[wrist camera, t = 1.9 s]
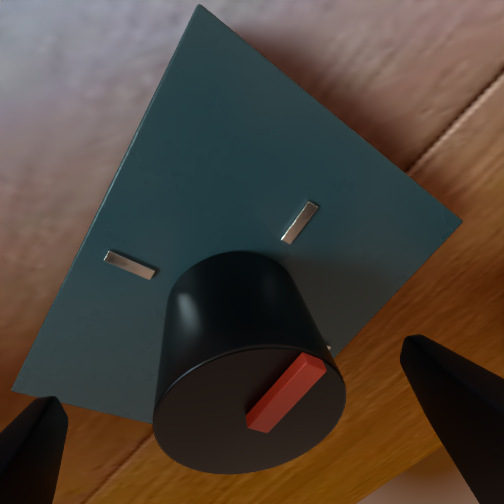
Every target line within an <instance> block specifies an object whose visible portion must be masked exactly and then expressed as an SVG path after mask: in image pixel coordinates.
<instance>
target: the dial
mask: <svg viewBox="0 0 504 504" xmlns="http://www.w3.org/2000/svg"><path fill="white" fill-rule="evenodd" d="M345 403H346V387H345V382H344V380H343V377H342V375H341V373H340V371H339V369H338V367H337V365H336V363H335V361H334V359H333V357H332V355H331V353H330V351H329V349H328V347H327V345H326V343H325V341H324V339H323V337H322V335H321V333H320V331H319V330H318V328H317V326H316V324H315V322H314V320H313V318H312V316H311V314H310V312H309V310H308V308H307V306H306V304H305V302H304V300H303V298H302V296H301V294H300V292H299V290H298V288H297V286H296V284H295V282H294V280H293V279H292V277H291V275H290V274H289V273H288V272H287V271H286V269H285V268H283V267H282V266H281V265H280V264H279V263H277V262H275V261H274V260H272V259H270V258H268V257H265V256H263V255H259V254H256V253H250V252H227V253H221V254H217V255H214V256H211V257H208V258H206V259H204V260H201V261H200V262H198V263H196V264H195V265H193V266H192V267H190V268H189V269H188V270H187V271H185V272H184V273H183V274H182V275H181V276H180V277H179V279H178V280H177V281H176V283H175V284H174V286H173V288H172V290H171V292H170V294H169V297H168V301H167V307H166V315H165V323H164V331H163V339H162V347H161V355H160V363H159V371H158V379H157V387H156V395H155V403H154V411H153V419H152V421H153V431H154V435H155V438H156V440H157V442H158V444H159V446H160V447H161V449H162V450H163V451H164V452H165V453H166V454H167V455H168V456H169V457H170V458H171V459H173V460H174V461H176V462H177V463H179V464H181V465H183V466H186V467H188V468H191V469H194V470H197V471H202V472H207V473H214V474H242V473H250V472H256V471H261V470H265V469H269V468H272V467H275V466H278V465H281V464H284V463H286V462H288V461H291V460H293V459H295V458H297V457H299V456H301V455H302V454H304V453H306V452H307V451H309V450H311V449H312V448H313V447H315V446H316V445H317V444H319V443H320V442H321V441H322V440H323V439H324V438H325V437H326V436H327V435H328V434H329V433H330V432H331V431H332V430H333V428H334V427H335V426H336V425H337V423H338V421H339V419H340V418H341V416H342V413H343V411H344V408H345Z"/></svg>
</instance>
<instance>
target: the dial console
mask: <svg viewBox="0 0 504 504" xmlns="http://www.w3.org/2000/svg"><path fill="white" fill-rule="evenodd" d="M462 222H463V221H462V220H461V219H460V218H459V217H458V216H457V215H455V214H454V213H453V212H452V211H451V210H449V209H448V208H447V207H446V206H445V205H443V204H442V203H441V202H440V201H438V200H437V199H436V198H435V197H434V196H432V195H431V194H430V193H429V192H428V191H426V190H425V189H424V188H423V187H421V186H420V185H419V184H418V183H417V182H415V181H414V180H413V179H412V178H411V177H409V176H408V175H407V174H406V173H405V172H403V171H402V170H401V169H400V168H398V167H397V166H396V165H395V164H394V163H392V162H391V161H390V160H389V159H388V158H386V157H385V156H384V155H383V154H382V153H380V152H379V151H378V150H377V149H375V148H374V147H373V146H372V145H371V144H369V143H368V142H367V141H366V140H365V139H363V138H362V137H361V136H360V135H359V134H357V133H356V132H355V131H354V130H352V129H351V128H350V127H349V126H348V125H346V124H345V123H344V122H343V121H342V120H340V119H339V118H338V117H337V116H335V115H334V114H333V113H332V112H331V111H329V110H328V109H327V108H326V107H325V106H323V105H322V104H321V103H320V102H319V101H317V100H316V99H315V98H314V97H312V96H311V95H310V94H309V93H308V92H306V91H305V90H304V89H303V88H302V87H300V86H299V85H298V84H297V83H296V82H294V81H293V80H292V79H291V78H289V77H288V76H287V75H286V74H285V73H283V72H282V71H281V70H280V69H279V68H277V67H276V66H275V65H274V64H273V63H271V62H270V61H269V60H268V59H266V58H265V57H264V56H263V55H262V54H260V53H259V52H258V51H257V50H256V49H254V48H253V47H252V46H251V45H250V44H248V43H247V42H246V41H245V40H243V39H242V38H241V37H240V36H239V35H237V34H236V33H235V32H234V31H233V30H231V29H230V28H229V27H228V26H226V25H225V24H224V23H223V22H222V21H220V20H219V19H218V18H217V17H216V16H214V15H213V14H212V13H211V12H210V11H208V10H207V9H206V8H205V7H203V6H202V5H200V4H198V5H197V7H196V9H195V11H194V13H193V15H192V17H191V19H190V21H189V23H188V25H187V27H186V29H185V32H184V34H183V36H182V38H181V40H180V42H179V44H178V46H177V48H176V50H175V52H174V54H173V56H172V58H171V60H170V62H169V65H168V67H167V69H166V71H165V73H164V75H163V77H162V79H161V81H160V83H159V85H158V87H157V89H156V91H155V93H154V95H153V98H152V100H151V102H150V104H149V106H148V108H147V110H146V112H145V114H144V116H143V118H142V120H141V122H140V124H139V126H138V129H137V131H136V133H135V135H134V137H133V139H132V141H131V143H130V145H129V147H128V149H127V151H126V153H125V155H124V157H123V159H122V162H121V164H120V166H119V168H118V170H117V172H116V174H115V176H114V178H113V180H112V182H111V184H110V186H109V188H108V190H107V193H106V195H105V197H104V199H103V201H102V203H101V205H100V207H99V209H98V211H97V213H96V215H95V217H94V219H93V221H92V223H91V226H90V228H89V230H88V232H87V234H86V236H85V238H84V240H83V242H82V244H81V246H80V248H79V250H78V252H77V254H76V256H75V259H74V261H73V263H72V265H71V267H70V269H69V271H68V273H67V275H66V277H65V279H64V281H63V283H62V285H61V287H60V290H59V292H58V294H57V296H56V298H55V300H54V302H53V304H52V306H51V308H50V310H49V312H48V314H47V316H46V318H45V320H44V323H43V325H42V327H41V329H40V331H39V333H38V335H37V337H36V339H35V341H34V343H33V345H32V347H31V349H30V351H29V353H28V356H27V358H26V360H25V362H24V364H23V366H22V368H21V370H20V372H19V374H18V376H17V378H16V380H15V382H14V384H13V387H12V389H11V391H13V392H17V393H22V394H26V395H30V396H35V397H39V398H41V397H47V396H56V397H57V398H58V399H59V401H60V403H64V404H69V405H73V406H77V407H82V408H86V409H90V410H94V411H99V412H103V413H107V414H112V415H116V416H120V417H124V418H129V419H133V420H137V421H141V422H146V423H150V424H153V421H152V419H153V411H154V403H155V395H156V387H157V379H158V371H159V363H160V355H161V347H162V339H163V331H164V323H165V315H166V307H167V301H168V297H169V294H170V292H171V290H172V288H173V286H174V284H175V283H176V281H177V280H178V279H179V277H180V276H181V275H182V274H183V273H184V272H185V271H187V270H188V269H189V268H190V267H192V266H193V265H195V264H196V263H198V262H200V261H201V260H204V259H206V258H208V257H211V256H214V255H217V254H221V253H227V252H250V253H256V254H259V255H263V256H265V257H268V258H270V259H272V260H274V261H275V262H277V263H279V264H280V265H281V266H282V267H283V268H285V269H286V271H287V272H288V273H289V274H290V275H291V277H292V279H293V280H294V282H295V284H296V286H297V288H298V290H299V292H300V294H301V296H302V298H303V300H304V302H305V304H306V306H307V308H308V310H309V312H310V314H311V316H312V318H313V320H314V322H315V324H316V326H317V328H318V330H319V331H320V333H321V335H322V337H323V339H324V341H325V343H326V345H327V347H328V349H329V351H330V353H331V355H332V357H333V359H334V358H335V357H336V356H337V355H338V354H339V353H340V351H341V350H342V349H343V348H344V347H345V346H346V345H347V344H348V343H349V342H350V341H351V340H352V339H353V338H354V337H355V336H356V335H357V333H358V332H359V331H360V330H361V329H362V328H363V327H364V326H365V325H366V324H367V323H368V322H369V321H370V320H371V319H372V318H373V317H374V315H375V314H376V313H377V312H378V311H379V310H380V309H381V308H382V307H383V306H384V305H385V304H386V303H387V302H388V301H389V300H390V299H391V298H392V296H393V295H394V294H395V293H396V292H397V291H398V290H399V289H400V288H401V287H402V286H403V285H404V284H405V283H406V282H407V281H408V280H409V278H410V277H411V276H412V275H413V274H414V273H415V272H416V271H417V270H418V269H419V268H420V267H421V266H422V265H423V264H424V263H425V262H426V261H427V259H428V258H429V257H430V256H431V255H432V254H433V253H434V252H435V251H436V250H437V249H438V248H439V247H440V246H441V245H442V244H443V243H444V241H445V240H446V239H447V238H448V237H449V236H450V235H451V234H452V233H453V232H454V231H455V230H456V229H457V228H458V227H459V226H460V225H461V223H462Z"/></svg>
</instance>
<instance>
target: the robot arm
mask: <svg viewBox="0 0 504 504" xmlns="http://www.w3.org/2000/svg"><path fill="white" fill-rule="evenodd" d="M400 363H401V366H402V368H403V370H404V372H405V375H406V377H407V379H408V381H409V383H410V385H411V387H412V389H413V391H414V393H415V395H416V397H417V399H418V401H419V403H420V405H421V407H422V409H423V411H424V413H425V415H426V417H427V419H428V420H429V422H430V424H431V426H432V427H433V429H434V431H435V432H436V434H437V435H438V437H439V439H440V440H441V442H442V444H443V445H444V447H445V448H446V450H447V452H448V453H449V455H450V457H451V458H452V460H453V461H454V463H455V465H456V466H457V468H458V469H459V471H460V473H461V474H462V476H463V478H464V479H465V481H466V483H467V484H468V486H469V487H470V489H471V491H472V492H473V494H474V495H475V497H476V498H477V500H478V502H479V503H480V504H504V379H503V378H501V377H499V376H498V375H496V374H494V373H492V372H490V371H488V370H486V369H485V368H483V367H481V366H479V365H477V364H475V363H474V362H472V361H470V360H468V359H466V358H464V357H462V356H461V355H459V354H457V353H455V352H453V351H451V350H449V349H448V348H446V347H444V346H442V345H440V344H438V343H437V342H435V341H433V340H431V339H429V338H427V337H425V336H423V335H420V334H418V335H411V336H407V337H406V338H405V339H404V342H403V346H402V350H401V355H400ZM67 429H68V417H67V414H66V412H65V411H64V409H63V407H62V405H61V403H60V401H59V399H58V398H57V397H56V396H47V397H41V398H37V399H35V400H34V401H33V402H32V403H30V404H29V405H28V406H27V407H26V408H25V409H24V410H23V411H22V412H21V413H20V414H19V415H18V416H17V417H16V418H15V419H14V420H13V421H12V422H11V423H10V424H9V425H8V426H7V427H6V428H5V429H4V430H3V431H2V432H1V433H0V504H52V502H53V498H54V494H55V490H56V485H57V480H58V475H59V470H60V465H61V460H62V454H63V449H64V444H65V439H66V434H67Z"/></svg>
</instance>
